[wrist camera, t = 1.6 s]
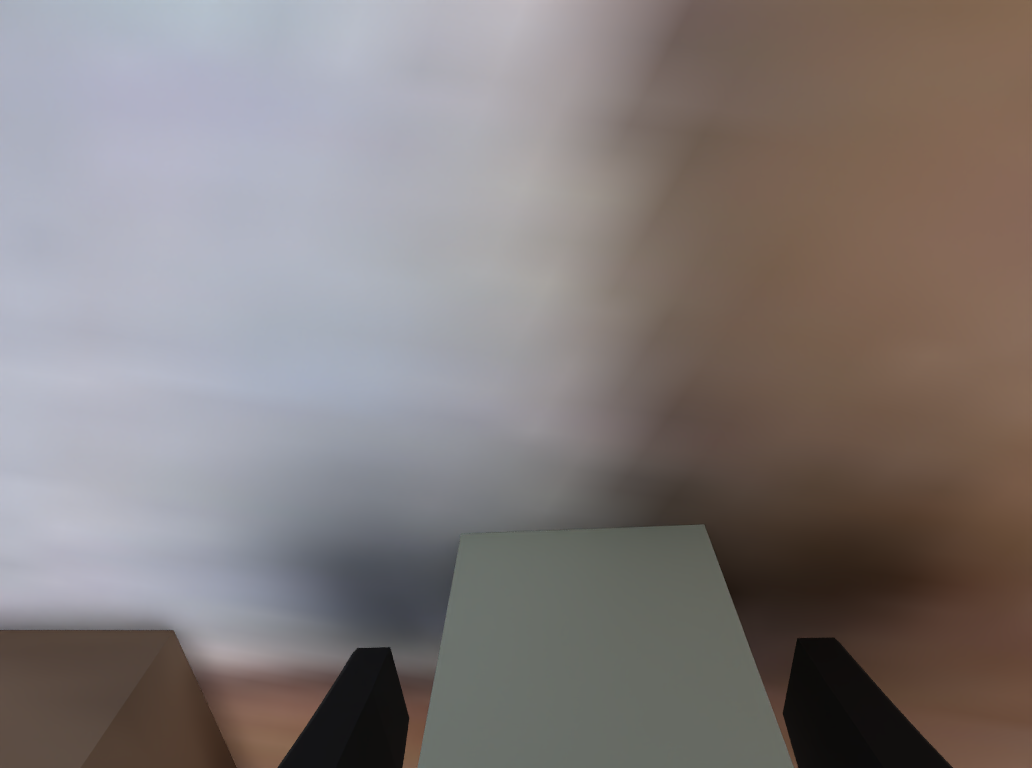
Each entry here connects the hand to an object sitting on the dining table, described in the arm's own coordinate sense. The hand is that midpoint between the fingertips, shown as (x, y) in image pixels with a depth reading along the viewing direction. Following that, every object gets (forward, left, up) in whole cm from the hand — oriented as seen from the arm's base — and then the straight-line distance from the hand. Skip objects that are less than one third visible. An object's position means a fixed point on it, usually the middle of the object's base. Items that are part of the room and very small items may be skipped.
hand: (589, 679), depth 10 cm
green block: (0, 0, -2) cm, 2 cm away
